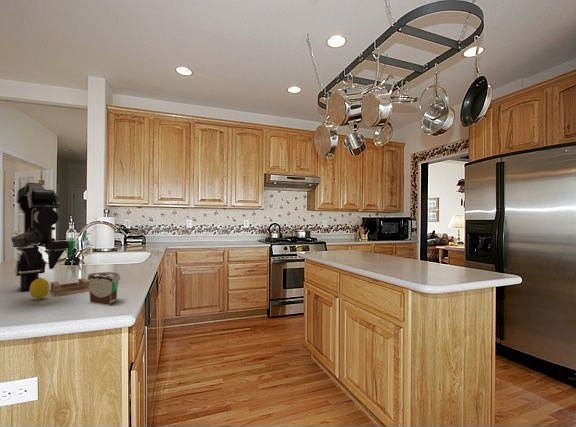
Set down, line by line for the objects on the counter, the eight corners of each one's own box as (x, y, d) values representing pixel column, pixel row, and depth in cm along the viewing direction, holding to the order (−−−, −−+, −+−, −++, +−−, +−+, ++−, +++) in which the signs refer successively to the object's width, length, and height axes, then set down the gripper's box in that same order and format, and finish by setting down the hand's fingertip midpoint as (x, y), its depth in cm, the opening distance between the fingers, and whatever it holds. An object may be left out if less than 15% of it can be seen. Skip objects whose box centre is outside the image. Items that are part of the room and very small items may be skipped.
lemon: (37, 302, 105) (38, 279, 105) (25, 301, 106) (25, 278, 106) (53, 298, 110) (53, 276, 110) (41, 297, 112) (41, 275, 112)
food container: (128, 301, 108) (128, 273, 108) (113, 305, 102) (113, 276, 102) (102, 297, 112) (103, 270, 112) (87, 302, 106) (87, 273, 106)
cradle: (49, 292, 118) (49, 282, 118) (83, 287, 127) (83, 277, 127) (54, 296, 112) (54, 286, 112) (90, 291, 121) (90, 281, 121)
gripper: (-5, 224, 101) (-5, 270, 101) (38, 226, 96) (37, 274, 97) (31, 223, 112) (30, 264, 112) (71, 225, 107) (70, 268, 108)
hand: (41, 268), depth 107 cm, fingers open, 9 cm apart
